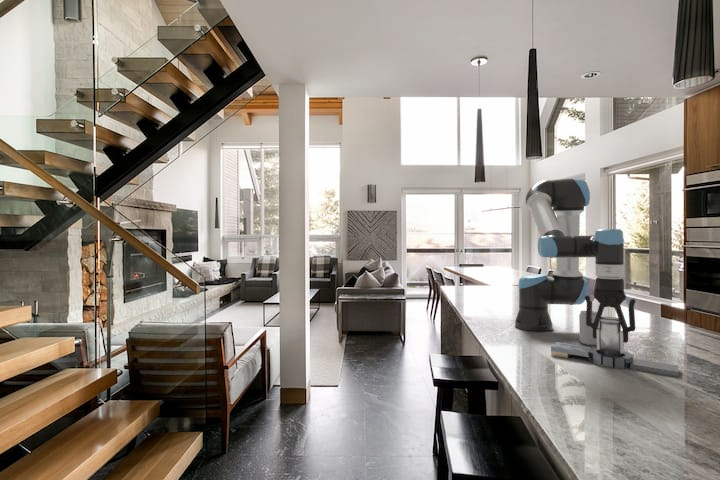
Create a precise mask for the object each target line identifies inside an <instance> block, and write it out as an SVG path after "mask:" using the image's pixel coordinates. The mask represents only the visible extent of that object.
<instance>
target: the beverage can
mask: <svg viewBox="0 0 720 480" xmlns="http://www.w3.org/2000/svg"><path fill="white" fill-rule="evenodd" d="M586 312H587V310H581V311H580V313H579V317H578V318H579V342H580V343H581V344H582V343H583V344H582V345H584V344H586V345H585V346H589V345H596V346H597V339H595V338H593V328H592V327H590V326H587V325H586ZM596 314H597V311H593V310H592V323H594V320H595V317H596ZM598 328H600V324H599V325H598Z"/></svg>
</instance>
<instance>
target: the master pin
mask: <svg viewBox="0 0 720 480" xmlns="http://www.w3.org/2000/svg"><path fill="white" fill-rule="evenodd" d="M599 321H600V322H599V328H600V354H602V355H606V356H612V357H621V353H620V332H621V331H622V327H621V320H619V318H618V317H617V316H616V317H615V316H601V318H599Z"/></svg>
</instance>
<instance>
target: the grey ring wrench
mask: <svg viewBox="0 0 720 480" xmlns="http://www.w3.org/2000/svg"><path fill="white" fill-rule="evenodd" d="M571 355H574V356H580V357H586V358H588V361H589V360H590V361H592V362H593V363H592V362H591V363H592V364H594V363H596V364H595V365H597V364H599V365H598V366H600V365H603V366H606V367H605V368H609V367H612V368H611V369H617V368H624V369H625V368H627V369H630V370H633V369H635V370H634V371H639V370H641V371H640V372H645V371H646V372H647V373H650V374H651V373H652V374H655V375H656V374H658V375H662V376H668V377H675V378H679V365H678V364H673V363H672V364H671V363H665V362H659V361H651V360H646V359H639V358H634V354H632V353H631V352H628V351H625V350H624V353H623V354H622V353H621V357H612V356H606V355H602V354H600V350H597V347H593V346H587V345H584V346H583V345H577V344H572V343H565V342H560V341H559V342H558V341H556V342H554V344H552V345H551V346H550V356H553V357H558V358H565V359H568V358H570V356H571ZM590 361H589V362H590ZM603 366H602V367H603ZM630 367H631V368H630Z"/></svg>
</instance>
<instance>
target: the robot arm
mask: <svg viewBox="0 0 720 480" xmlns="http://www.w3.org/2000/svg"><path fill="white" fill-rule="evenodd" d="M590 200H591V193H590V188H589V186H588V183H587V182H586V180H585V179H582V178H564V179H544V180H541V181H539V182H537V183H535V184H533V185H532V186H531V187H530V188H529V189H528V192H527V193H526V195H525V204H526V207H527V210H528V211H530V212H531V214H532V217H533V219H534V223H535V224H536V226H537V227H536V228H537V230H538V233H539V234H540V236H539V237H538V240H537V250H538V255H539V257H542V258H551V259H554V258H556V267H555V268H556V269H555V270H553V272H552V277H549V276H548V275H547V274H544V273H540V274H539V273H538V274H537V273H536V274H527V275H523V276H521V277H519V280H518V287H517V288H518V311H517V315H516V318H515V321H514V327H516V329H517V328H518V329H520V330H525V331H530V332H531V331H533V332H547V331H548V332H549V331H552V330H553V329H554V327H553V321H552V318H551V315H550V313H549V309H548V308H549V307H548V306H549V305H569V306H573V305H582V304H583V303H584V302H586V311H587V312H586V325H587V326H590V327H592V328H593V338H595V339H597V345H596V348H597V350H600V327H599V328H598V325H599V326H600V321H599V318H601V317H603V312H604V310H605V307H606V308H609V307H610V308H614V310H615V312H616V315H617V318H619V320H621V332H620V353H622V354H623V353H624V351H625V343H626V344H627V343H628V341H629V333H630V332H635V330H636V319H635V318H636V316H635V305H636V302H637V300H636V298H634V297H628V296H627V295H626V293H625V280H624V276H625V274H624V273H625V271H624V270H625V267H624V266H625V264H624V261H625V259H624V253H625V252H624V249H625V248H624V243H625V239H624V231H623V230H622V229H620V228H604V229H603V228H602V229H596V230H595V231H594V235H593V234H591V235H580V220H581V219H580V217H581V214H582V213H583V212H584V211H585V207H588V206H589V204H590ZM580 258H594V259H595V261H594V262H595V276H596V277H595V291H594V293H593V294H588V293H589V283H588V280H587V279H586V278H585V277H584V274H583V273H582V272H581V271H580ZM595 299H596V301H597V302H598V303H599V305H598V309H597V311H596V312H597V314H596V317H595V320H594V323H592V311H593V301H594V300H595ZM624 301H626V304H627V305H628V319H629V321H628V322H629V323H628V324H629V326H628V324H627V321H626V319H625V315H624V312H623V310H622V306H621V304H622V303H623V302H624Z"/></svg>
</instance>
